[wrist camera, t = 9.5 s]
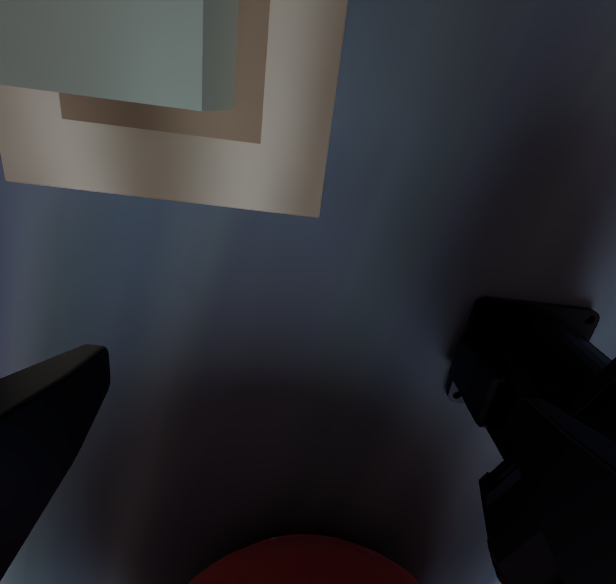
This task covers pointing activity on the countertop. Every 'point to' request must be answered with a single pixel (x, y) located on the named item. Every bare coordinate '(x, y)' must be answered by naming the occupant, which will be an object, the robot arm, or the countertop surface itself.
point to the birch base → (199, 125)
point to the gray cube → (123, 50)
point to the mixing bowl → (304, 564)
